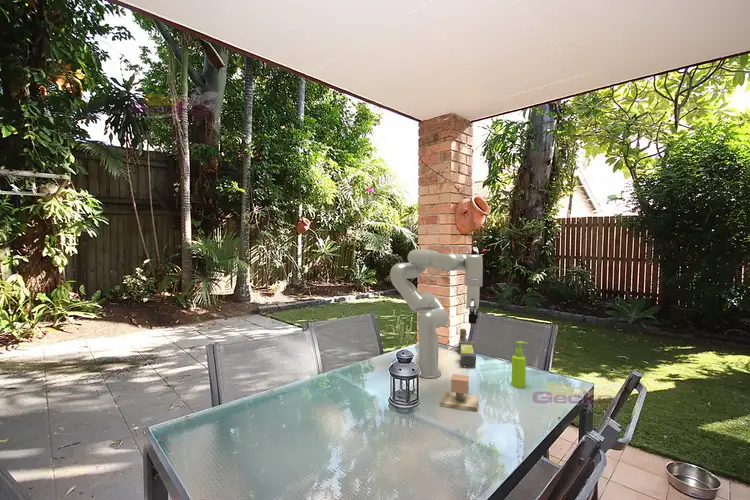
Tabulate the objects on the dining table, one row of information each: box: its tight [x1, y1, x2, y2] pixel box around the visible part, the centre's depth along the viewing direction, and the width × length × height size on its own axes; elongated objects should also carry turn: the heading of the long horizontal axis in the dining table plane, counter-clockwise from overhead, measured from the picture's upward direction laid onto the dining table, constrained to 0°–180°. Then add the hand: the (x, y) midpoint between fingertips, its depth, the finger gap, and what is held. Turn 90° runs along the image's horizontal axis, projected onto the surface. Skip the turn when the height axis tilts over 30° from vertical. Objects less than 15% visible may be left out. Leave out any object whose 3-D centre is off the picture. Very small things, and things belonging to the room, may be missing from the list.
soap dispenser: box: [511, 340, 529, 389], centre depth 162 cm, size 6×7×20 cm
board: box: [439, 391, 479, 412], centre depth 144 cm, size 14×11×10 cm
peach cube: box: [450, 373, 470, 395], centre depth 144 cm, size 6×6×5 cm
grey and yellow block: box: [455, 328, 477, 368], centre depth 200 cm, size 8×17×30 cm
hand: (473, 321), depth 157 cm, fingers open, 9 cm apart
